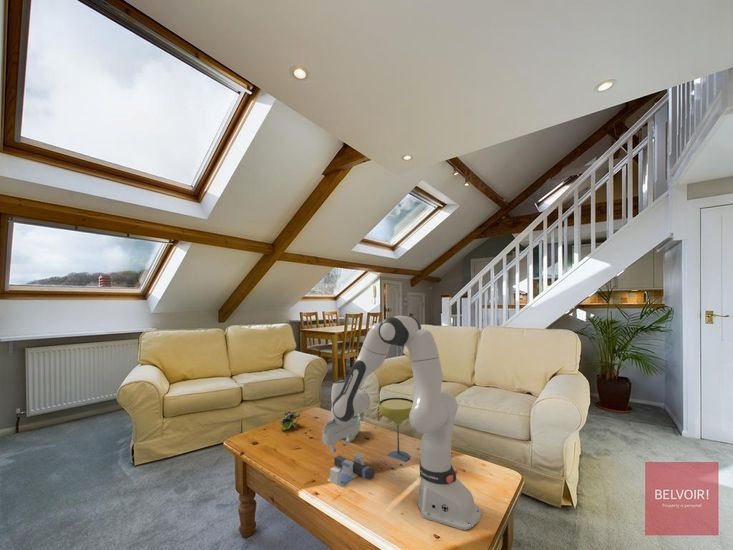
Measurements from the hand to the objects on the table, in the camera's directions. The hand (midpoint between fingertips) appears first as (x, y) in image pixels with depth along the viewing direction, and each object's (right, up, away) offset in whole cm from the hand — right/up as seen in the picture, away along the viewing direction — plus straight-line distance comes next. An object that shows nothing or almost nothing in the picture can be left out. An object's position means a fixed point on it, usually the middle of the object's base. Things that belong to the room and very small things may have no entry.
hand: (340, 448), depth 148 cm
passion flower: (-33, -13, +46) cm, 57 cm away
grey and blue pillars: (+4, -8, -8) cm, 12 cm away
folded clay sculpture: (+3, -11, +33) cm, 35 cm away
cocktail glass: (+27, -10, +10) cm, 30 cm away
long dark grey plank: (+6, -7, -5) cm, 11 cm away
